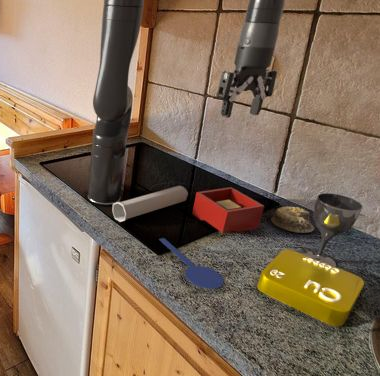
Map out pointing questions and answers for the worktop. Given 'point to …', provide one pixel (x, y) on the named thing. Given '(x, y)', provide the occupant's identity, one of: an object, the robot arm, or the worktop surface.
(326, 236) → the wine glass
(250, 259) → the worktop surface
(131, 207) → the tube
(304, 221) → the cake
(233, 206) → the block
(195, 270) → the spoon
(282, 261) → the element tile
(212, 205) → the red open tray
